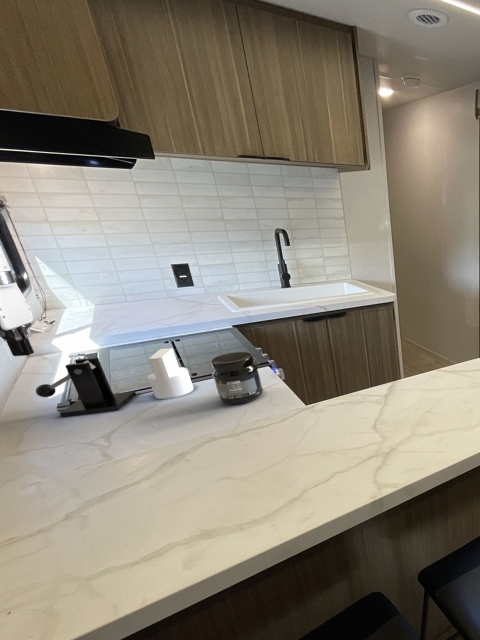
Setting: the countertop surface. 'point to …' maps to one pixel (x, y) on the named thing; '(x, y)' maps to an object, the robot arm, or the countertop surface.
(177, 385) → the base with upright slab
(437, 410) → the countertop surface
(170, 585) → the countertop surface
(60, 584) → the countertop surface
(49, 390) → the tap lever
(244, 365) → the supplement container
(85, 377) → the bracket
